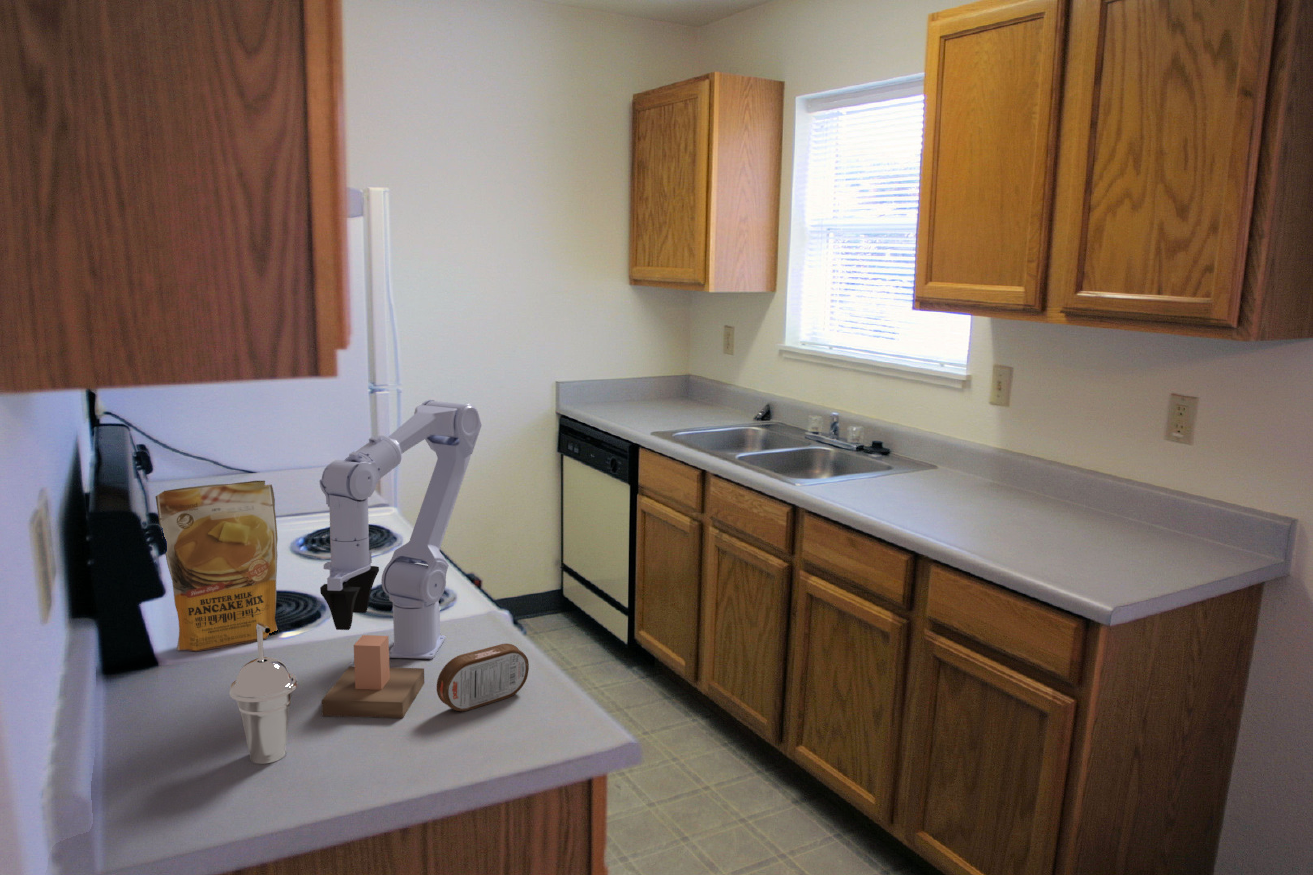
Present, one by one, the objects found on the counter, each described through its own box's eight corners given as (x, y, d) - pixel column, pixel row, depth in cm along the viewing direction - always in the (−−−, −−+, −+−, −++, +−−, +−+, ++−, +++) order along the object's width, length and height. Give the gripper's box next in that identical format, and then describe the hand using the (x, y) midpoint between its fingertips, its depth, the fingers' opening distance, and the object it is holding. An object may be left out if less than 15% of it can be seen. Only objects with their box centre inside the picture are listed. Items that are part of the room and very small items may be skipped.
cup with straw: (307, 738, 134) (300, 603, 130) (291, 772, 125) (283, 628, 121) (244, 741, 133) (236, 605, 129) (223, 775, 124) (213, 630, 120)
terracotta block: (364, 677, 148) (362, 634, 147) (389, 678, 148) (388, 635, 147) (355, 688, 144) (353, 645, 143) (381, 689, 144) (379, 645, 143)
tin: (521, 685, 152) (521, 636, 150) (532, 692, 150) (532, 642, 148) (435, 712, 142) (434, 659, 141) (445, 720, 140) (444, 666, 138)
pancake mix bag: (165, 644, 165) (152, 487, 160) (280, 624, 176) (272, 476, 171) (169, 657, 160) (156, 496, 155) (288, 636, 170) (280, 483, 165)
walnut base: (350, 680, 152) (349, 666, 152) (424, 682, 152) (424, 668, 152) (322, 715, 141) (321, 699, 140) (402, 717, 140) (402, 702, 140)
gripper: (340, 524, 155) (342, 604, 157) (306, 548, 141) (308, 636, 143) (383, 525, 155) (385, 605, 157) (353, 550, 141) (355, 637, 143)
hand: (351, 620), depth 150 cm, fingers open, 7 cm apart
